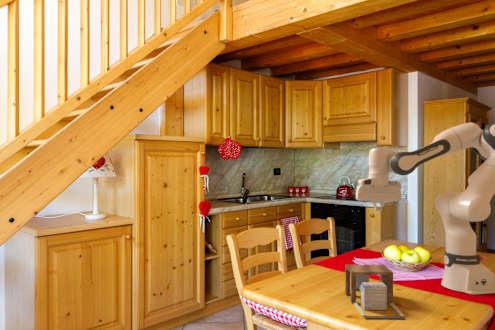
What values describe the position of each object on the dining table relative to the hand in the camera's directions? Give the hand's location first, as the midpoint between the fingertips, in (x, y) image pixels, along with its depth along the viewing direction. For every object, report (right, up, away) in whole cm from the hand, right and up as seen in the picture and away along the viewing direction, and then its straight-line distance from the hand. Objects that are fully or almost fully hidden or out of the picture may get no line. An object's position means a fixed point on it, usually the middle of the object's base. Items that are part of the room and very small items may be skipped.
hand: (378, 210), depth 175 cm
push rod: (-15, -29, -29) cm, 44 cm away
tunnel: (-15, -30, -31) cm, 45 cm away
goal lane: (-15, -30, -43) cm, 54 cm away
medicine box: (-16, -30, -41) cm, 53 cm away
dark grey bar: (-15, -30, -49) cm, 60 cm away
